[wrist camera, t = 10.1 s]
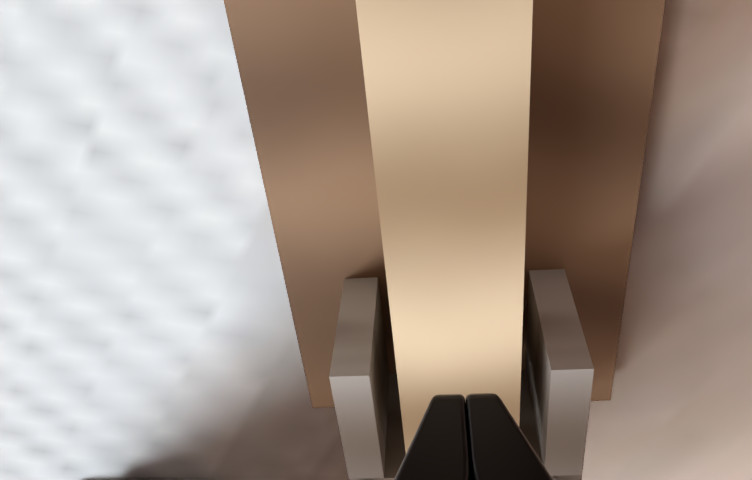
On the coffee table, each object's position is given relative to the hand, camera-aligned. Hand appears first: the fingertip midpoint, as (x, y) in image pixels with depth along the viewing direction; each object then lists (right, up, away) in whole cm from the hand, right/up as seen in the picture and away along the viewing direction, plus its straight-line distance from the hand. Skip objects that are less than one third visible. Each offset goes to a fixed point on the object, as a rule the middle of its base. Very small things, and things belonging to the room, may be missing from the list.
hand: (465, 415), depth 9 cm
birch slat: (+1, +5, +8) cm, 10 cm away
